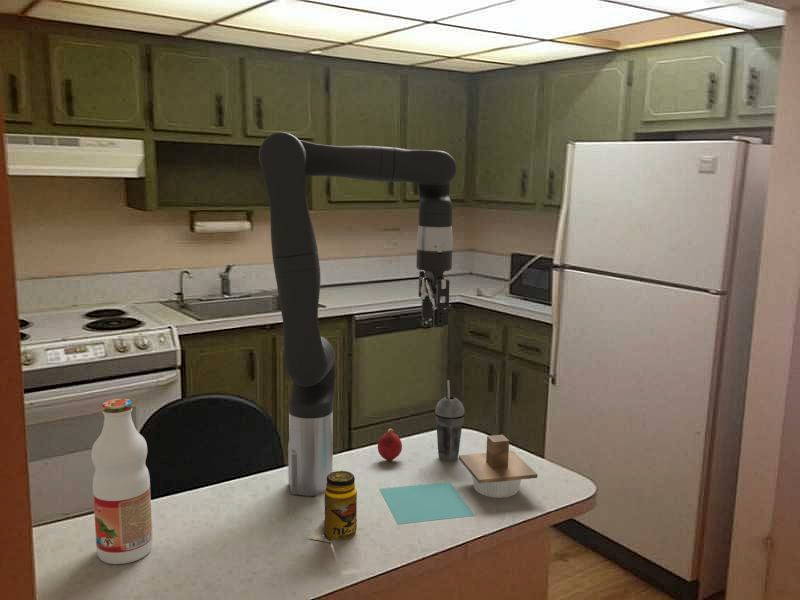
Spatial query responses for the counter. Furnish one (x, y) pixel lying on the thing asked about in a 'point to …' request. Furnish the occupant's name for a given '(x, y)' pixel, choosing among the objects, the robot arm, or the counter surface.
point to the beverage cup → (449, 426)
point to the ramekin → (497, 488)
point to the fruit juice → (121, 488)
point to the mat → (425, 503)
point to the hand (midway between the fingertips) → (432, 322)
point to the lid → (497, 463)
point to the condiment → (338, 508)
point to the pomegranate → (389, 446)
